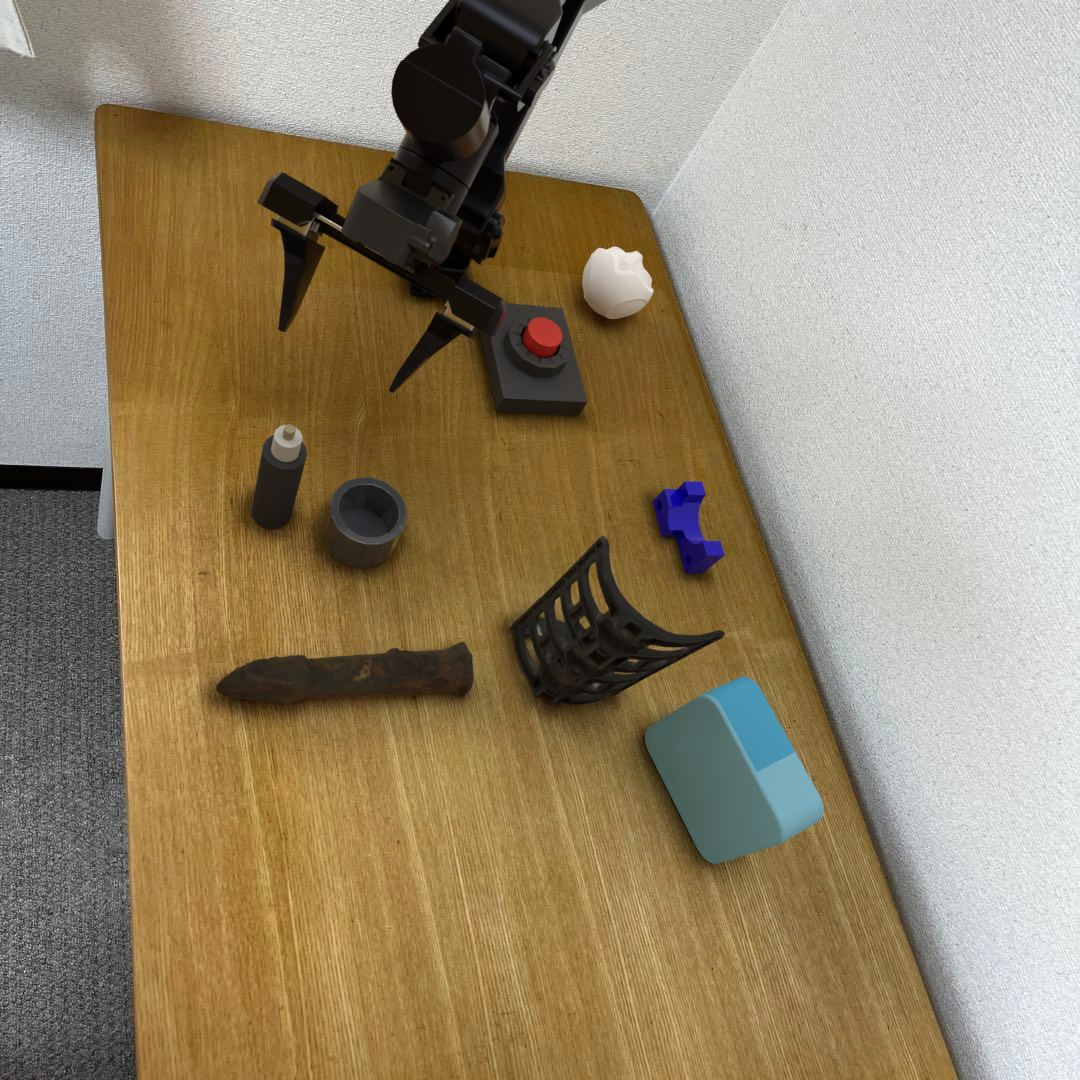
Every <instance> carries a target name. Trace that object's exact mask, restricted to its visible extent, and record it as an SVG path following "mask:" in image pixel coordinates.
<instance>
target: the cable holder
mask: <svg viewBox="0 0 1080 1080" xmlns="http://www.w3.org/2000/svg"><path fill="white" fill-rule="evenodd" d="M706 496H707V493H706V489H705V486H704V483H703V481H688V480H687V481H683V482H682V484H681V485H680V486H679V487H678V488H663V490H662V491H660V492H659V494H658V495H657V496H655V498H654V499H653V500H652V505H653V509H654V512H655V516H656V519H657V522H658V527H659V530H660V534H661V537H662V538H675V540H676V543H677V544H676V545H677V547H678V550H679V551H678V552H679V554H680V557H681V561H682V564H683V568H684V571H685V574H686V575H687V574H688V575H689V574H692V575H693V574H694V575H695V574H705V573H706V572H707V571H708V570H709V569H710V568H711V567H713V566H714V565H715V564H717V562H718V561H720V560H721V559H722V558H724V557H725V552H724V548H723V545H722V541H721V540H706V539H705V537H704V535H703V533H702V531H701V527H700V521H699V519H700V517H699V515H700V508H701V506H702V502H703V500H704V498H705V497H706Z"/></svg>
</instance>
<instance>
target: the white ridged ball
mask: <svg viewBox="0 0 1080 1080" xmlns="http://www.w3.org/2000/svg"><path fill="white" fill-rule="evenodd" d="M643 259H644V256H643V255H642V253H640V252H639V251H637V250H634V251H631V252H626V251H625V250H623V249H622V248H620V247H618V246H611V247H609V248H607V249H605V248H602V247H598V248H597V249H596V250H594V251H593V252H592V253H591V254H590V256H589V258H588V260H587V262H586V263H585V266H584V268H583V272H582V278H581V287H582V291H583V299H584V300H585V302H586V303H587V305H588V306H589V307H590V309H592V310H593V311H594V312H595V313H597V314H598V315H600V316H603V317H604V318H607V319H610V320H617V319H622V318H626V317H629V316H632V315H634V314H636V313H638V312H640V311H641V310H643V309H644V308H645V307H647V305H648V303H649V301H650V300H651V298H652V297H653V294H654V288H653V287H652V283H653V279H652V277H651V275H650V273H649V272H648V270H646V269H645V267H644V264H643Z"/></svg>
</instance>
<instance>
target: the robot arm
mask: <svg viewBox="0 0 1080 1080" xmlns="http://www.w3.org/2000/svg"><path fill="white" fill-rule="evenodd" d="M607 1H608V0H448V1H447V2H446V3H445V5H444V6H443V7H442V8H441V10H440V11H439V12H438V13H437V15H435V18H433V20H432V21H431V22H430V24H429V25H428V26H427V27H426V28H425V30H424V31H423V32H422V33H421V35H420V37H419V39H418V40H417V41H418V42H417V47H416V48H415V49H414V50H412V51H410V52H409V53H408V54H407V55H406V56H405V57H404V58H403V59H401V60H400V61H399V63H398V64H397V66H396V69H395V70H394V75H393V77H392V79H391V90H390V94H391V95H390V96H391V102H392V106H393V110H394V112H395V114H396V117H397V120H398V121H399V122H400V124H401V125H402V127H403V129H404V131H405V133H404V136H403V138H402V140H401V142H400V144H399V145H398V148H397V150H396V151H395V153H394V156H393V157H391V158H390V160H389V162H388V164H387V165H386V166H385V168H384V170H383V172H382V174H381V175H379V176H378V178H376V179H373V180H370V181H368V182H366V183H364V184H360V185H359V186H357V189H356V191H355V194H354V196H353V199H352V201H351V204H350V205H349V209H348V212H347V214H346V217H344V216H343V215H341V214H339V213H338V209H339V205H338V204H336V203H335V202H333V200H331V199H329V198H328V197H327V196H325V194H322V193H321V192H319V191H317V190H315V189H313V188H311V187H310V186H308V185H307V184H304V183H303V182H301V181H300V180H298V179H296V178H295V177H293V176H291V175H289V174H287V173H286V172H284V171H281V172H279V173H275V174H273V175H272V176H271V177H269V179H268V180H267V181H266V182H265V185H264V187H263V189H262V191H261V193H260V195H259V198H258V200H257V201H256V202H257V204H258V205H259V206H262V207H264V208H265V209H267V210H269V211H271V212H272V213H274V214H276V217H275V218H273V217H271V218H270V224H269V225H270V226H271V227H272V228H275V229H276V230H278V231H279V233H280V236H281V241H282V248H283V259H284V260H283V262H284V263H283V264H284V267H283V268H284V269H283V271H284V272H283V282H282V290H281V291H282V292H281V301H280V307H279V308H280V309H279V319H278V327H277V328H278V331H279V332H281V333H287V332H288V330H289V328H290V327H291V325H292V324H293V322H294V320H295V318H296V317H297V315H298V313H299V311H300V308H301V306H302V304H303V301H304V299H305V296H306V295H307V292H308V290H309V287H310V285H311V283H312V280H313V278H314V276H315V273H316V271H317V268H318V267H319V264H320V262H321V259H322V257H323V255H324V252H325V250H326V246H325V245H323V244H320V242H318V240H319V238H320V237H323V234H324V235H326V236H328V237H329V238H331V239H332V240H333V239H334V241H336V242H338V243H339V244H341V245H343V246H345V247H347V248H348V249H350V250H352V251H354V252H356V253H357V254H359V255H361V256H362V257H365V258H366V259H368V260H370V261H371V262H373V263H375V264H377V265H378V266H380V267H382V268H383V269H385V270H387V271H389V272H391V273H393V274H395V276H398V277H399V278H401V279H403V280H405V281H407V287H408V292H409V294H410V295H411V296H414V297H424V298H434V299H435V298H436V299H438V300H439V301H442V302H444V303H445V304H444V308H445V310H444V311H443V313H441V312H439V311H436V312H435V313H434V314H433V317H432V318H431V320H430V322H429V324H428V325H427V327H426V328H425V331H424V332H423V334H422V335H421V336H420V338H419V340H418V341H417V342H416V344H415V345H414V347H413V348H412V350H411V352H410V353H409V354H408V356H407V357H406V359H405V361H403V363H402V365H401V366H400V368H399V369H398V370H397V372H396V374H395V376H394V377H393V380H392V382H391V384H390V386H389V388H388V392H389V393H392V394H394V393H396V392H397V391H398V390H399V389H400V388H401V387H402V386H404V384H405V383H406V382H407V381H408V380H409V379H410V378H411V377H412V376H413V375H414V374H416V372H418V370H419V369H420V368H422V367H423V365H425V363H427V362H428V361H429V360H430V359H431V358H433V356H434V355H436V354H437V353H438V352H439V351H440V350H442V349H443V348H444V347H446V346H447V345H449V344H450V343H452V342H453V341H454V340H455V339H456V338H458V337H459V336H461V335H463V336H465V337H466V338H468V339H474V338H475V336H476V335H477V332H476V330H477V329H478V331H479V330H481V331H483V332H485V333H486V334H488V335H490V336H492V337H494V335H495V333H496V332H497V330H498V328H499V326H500V324H501V322H502V320H503V319H504V316H505V314H506V312H507V310H506V307H505V303H506V302H505V300H504V298H503V297H501V296H499V295H497V294H496V293H494V292H492V291H490V290H489V289H487V288H486V287H483V286H482V285H480V284H478V283H477V282H476V281H473V280H471V279H470V278H469V277H468V271H469V268H470V266H471V263H472V261H475V263H476V264H478V265H479V266H481V265H482V264H483V263H484V261H486V260H487V259H494V258H495V257H496V256H497V253H498V251H499V249H500V246H501V244H502V241H503V234H504V226H505V224H506V222H507V221H506V216H505V214H504V213H502V212H501V210H502V207H503V206H504V204H505V202H506V200H507V182H506V181H507V179H506V177H507V176H506V164H507V162H508V159H509V158H510V156H511V154H512V151H513V150H514V148H515V146H516V143H517V142H518V140H519V138H520V136H521V135H522V132H523V131H524V129H525V126H526V124H527V123H528V120H529V119H530V117H531V115H532V113H533V111H534V109H535V107H536V106H537V103H538V101H539V100H540V97H541V96H542V93H543V92H544V90H545V89H546V88H547V86H548V85H549V83H550V81H551V80H552V78H553V76H554V75H555V71H556V67H557V64H558V63H559V61H560V59H561V57H562V55H563V54H564V51H565V50H566V48H567V45H568V43H569V41H570V40H571V37H572V36H573V34H574V31H575V30H576V28H577V26H578V24H579V22H580V20H581V19H582V16H583V15H585V14H586V13H588V12H590V11H592V10H593V9H595V8H597V7H598V6H600V5H602V4H604V3H605V2H607Z"/></svg>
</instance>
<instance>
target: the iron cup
mask: <svg viewBox="0 0 1080 1080" xmlns="http://www.w3.org/2000/svg"><path fill="white" fill-rule="evenodd" d="M407 520H408V512H407V505H406V502H405V501H404V499H403V497H402V495H401V494H400V492H399V491H398V490H396V489H395V488H394V487H393V486H392V485H390V484H389V483H387V482H386V481H383V480H380V479H377V478H375V477H361V476H360V477H354V478H352V479H349V480H347V481H344V482H343V483H341V484H340V485H339V486H338V487H337V489H335V490H334V492H333V493H332V496H331V498H330V502H329V505H328V507H327V510H326V514H325V517H324V520H323V523H322V527H321V538H322V543H323V545H324V547H325V550H327V551H328V554H329V555H330V557H332V558H333V559H334V560H335V561H337V562H338V563H340V564H342V565H343V566H346V567H349V568H353V569H370V568H375V567H377V566H379V565H381V564H383V563H384V562H386V560H388V558H389V557H390V556H391V555H392V554H393V552H394V550H395V548H396V546H397V544H398V542H399V540H400V538H401V536H402V534H403V532H404V529H405V527H406V523H407Z"/></svg>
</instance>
